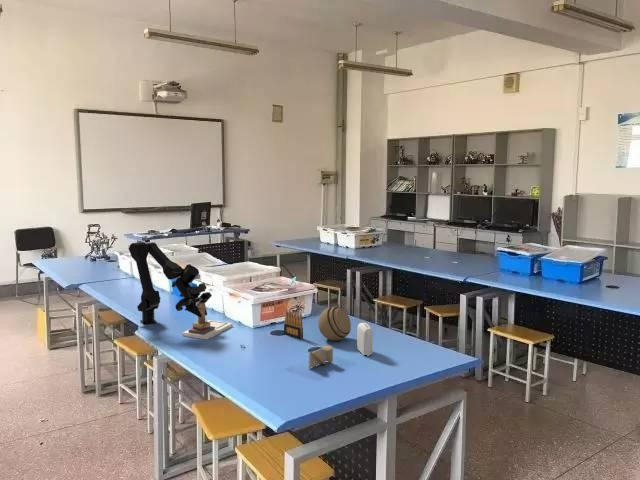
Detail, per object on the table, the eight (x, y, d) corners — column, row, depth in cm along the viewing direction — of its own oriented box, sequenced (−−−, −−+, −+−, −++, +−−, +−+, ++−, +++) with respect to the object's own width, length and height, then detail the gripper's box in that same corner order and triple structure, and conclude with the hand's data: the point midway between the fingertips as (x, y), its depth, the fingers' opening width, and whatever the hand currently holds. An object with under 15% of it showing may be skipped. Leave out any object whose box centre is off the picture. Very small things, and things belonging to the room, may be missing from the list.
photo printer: (355, 348, 233) (356, 320, 231) (365, 348, 234) (366, 320, 233) (363, 357, 223) (364, 327, 222) (373, 356, 224) (374, 327, 223)
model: (332, 364, 215) (333, 345, 214) (315, 372, 207) (315, 352, 206) (326, 362, 217) (326, 344, 216) (308, 370, 209) (309, 350, 208)
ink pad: (203, 334, 244) (203, 332, 243) (188, 332, 246) (188, 329, 246) (214, 329, 252) (214, 326, 252) (199, 327, 255) (199, 324, 255)
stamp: (200, 330, 245) (200, 305, 244) (193, 328, 249) (192, 302, 247) (210, 328, 249) (210, 302, 248) (202, 325, 253) (202, 300, 251)
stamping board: (207, 339, 242) (207, 335, 242) (182, 335, 246) (182, 332, 246) (232, 326, 262) (232, 322, 262) (209, 322, 267) (209, 319, 267)
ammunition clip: (283, 334, 252) (283, 308, 250) (286, 333, 253) (286, 308, 251) (300, 339, 244) (300, 313, 243) (303, 338, 246) (303, 312, 244)
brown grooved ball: (323, 346, 236) (323, 312, 234) (314, 335, 250) (314, 303, 248) (356, 343, 240) (356, 310, 238) (345, 333, 254) (346, 302, 252)
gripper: (179, 281, 240) (199, 310, 236) (208, 274, 256) (227, 301, 252) (166, 296, 245) (185, 324, 241) (196, 289, 261) (214, 315, 257)
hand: (203, 316), depth 247 cm, fingers closed on stamp, 3 cm apart
